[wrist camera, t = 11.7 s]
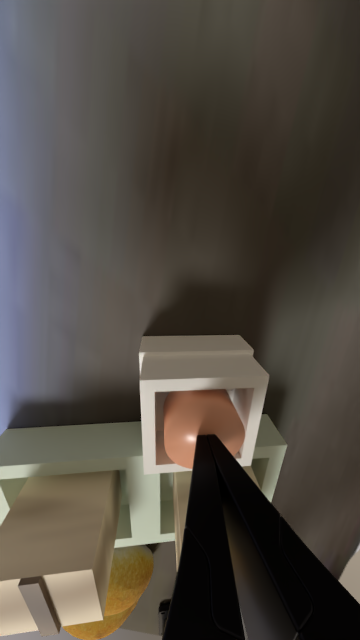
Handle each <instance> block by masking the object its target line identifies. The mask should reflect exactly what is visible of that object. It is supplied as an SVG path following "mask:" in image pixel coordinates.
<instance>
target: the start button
mask: <svg viewBox="0 0 360 640" xmlns="http://www.w3.org/2000/svg"><path fill="white" fill-rule="evenodd" d="M163 413H164V446H165V451H166V453H167V455H168V456H169V458H170V459H171V460H172V461H173V462H175V463H176V464H178V465H180V466H182V467H185V468H190V469H192V468H193V460H194V453H195V445H196V438H197V435H207V434H215V435H217V437H218V438H219V439H220V440H221V442H222V443H223V444H224V445H225V447H226V448H227V449H228V450H229V451H230V453H231V454H232V455H233V456H234V455H235V454H236V453H237V452H238V451H239V450H240V448H241V446H242V444H243V442H244V439H245V429H244V426H243V423H242V421H241V419H240V417H239V415H238V413H237V411H236V409H235V407H234V405H233V403H232V401H231V399H230V396H229V394H228V392H227V391H226V389H212V390H188V391H170V393H169V394H168V395H167V397H166V399H165V402H164V407H163Z"/></svg>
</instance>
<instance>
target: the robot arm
mask: <svg viewBox="0 0 360 640" xmlns="http://www.w3.org/2000/svg"><path fill="white" fill-rule="evenodd" d="M239 605H240V606H239ZM240 609H241V612H240ZM241 613H242V617H243V620H244V624H245V628H246V632H247V636H248V640H360V604H359V603H358V602H357V601H356V600H355V599H354V597H353V596H351V594H350V593H349V592H348V591H347V590H346V589H345V588H344V587H343V586H342V585H341V583H340V582H339V581H338V580H337V579H336V578H335V577H334V576H333V575H332V574H331V573H330V572H329V571H328V569H327V568H326V567H325V566H324V565H323V564H322V563H321V562H320V561H319V560H318V558H317V557H316V556H315V555H314V554H313V553H312V552H311V551H310V550H309V548H308V547H307V546H306V545H305V544H304V543H303V541H302V540H301V539H300V538H299V537H298V535H297V534H296V533H295V532H294V531H293V530H292V528H291V527H290V526H289V525H288V523H287V522H286V521H285V520H284V518H283V517H280V513H279V512H278V511H277V510H276V509H275V507H274V506H273V505H272V504H271V502H270V501H269V500H268V499H267V497H266V496H265V495H264V494H263V492H262V491H261V490H260V489H259V487H258V486H257V485H256V484H255V482H254V481H253V480H252V479H251V478H250V476H249V475H248V474H247V473H246V471H245V470H244V469H243V468H242V466H241V465H240V464H239V463H238V461H237V460H236V459H235V458H234V456H233V455H232V454H231V453H230V451H229V450H228V449H227V448H226V447H225V445H224V444H223V443H222V442H221V440H220V439H219V438H218V437H217V435H215V434H207V435H197V438H196V445H195V453H194V460H193V468H192V475H191V483H190V490H189V498H188V505H187V513H186V520H185V528H184V534H183V542H182V548H181V554H180V561H179V566H178V571H177V576H176V581H175V585H174V590H173V594H172V599H171V603H170V604H168V605H162V606H160V607H159V635H162V640H245V636H244V630H243V624H242V618H241Z"/></svg>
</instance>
